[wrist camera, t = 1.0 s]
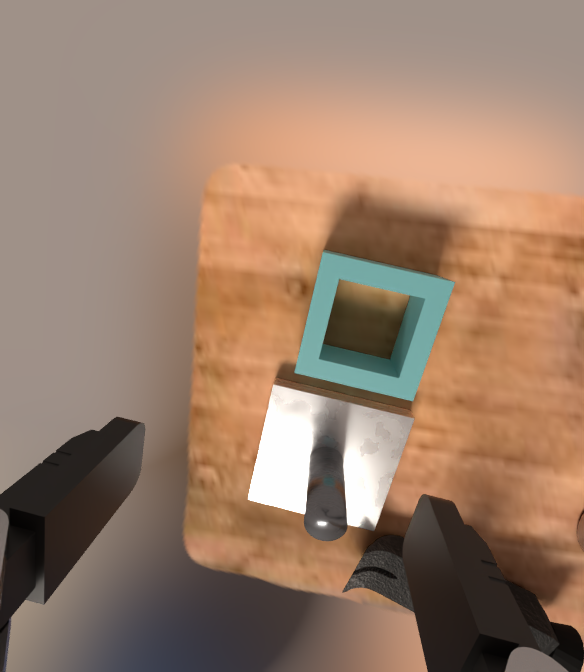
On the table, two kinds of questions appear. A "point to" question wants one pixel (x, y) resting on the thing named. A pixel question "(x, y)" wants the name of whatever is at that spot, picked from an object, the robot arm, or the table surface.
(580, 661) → the hammer
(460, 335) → the table surface
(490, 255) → the table surface
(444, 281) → the collar
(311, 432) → the stand
